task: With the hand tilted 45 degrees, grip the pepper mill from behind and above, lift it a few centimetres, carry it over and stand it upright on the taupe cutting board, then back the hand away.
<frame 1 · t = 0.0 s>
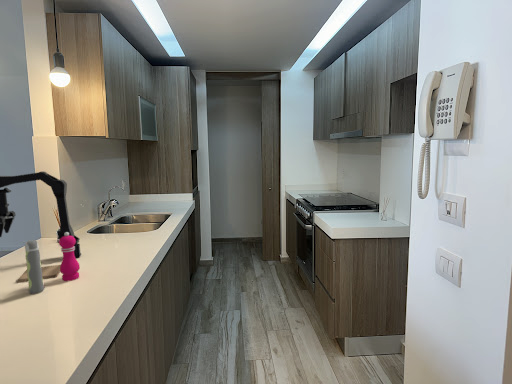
hand: (3, 235, 155), 15 cm above the table, tool pointing down, fingers open, 9 cm apart
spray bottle: (36, 292, 125), on the table
taupe cutting board: (41, 274, 143), on the table
pepper mill: (70, 278, 138), on the table
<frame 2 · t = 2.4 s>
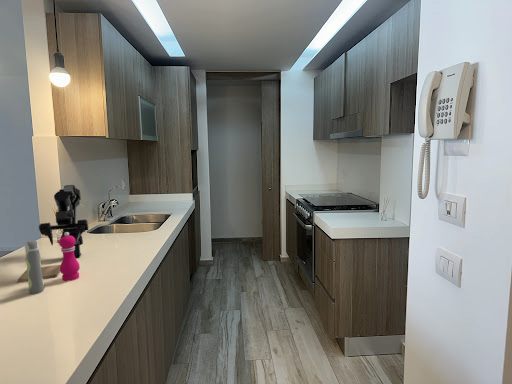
hand: (64, 243, 142), 13 cm above the table, tool tilted 45°, fingers open, 9 cm apart
nothing on the table moved.
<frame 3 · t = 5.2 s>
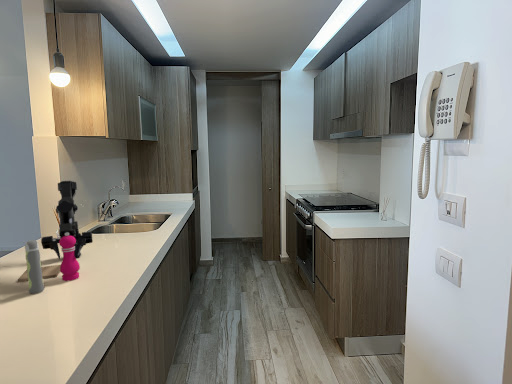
hand: (68, 257, 135), 10 cm above the table, tool tilted 45°, fingers open, 6 cm apart
pepper mill: (70, 278, 138), on the table, touching gripper
everything else where it was.
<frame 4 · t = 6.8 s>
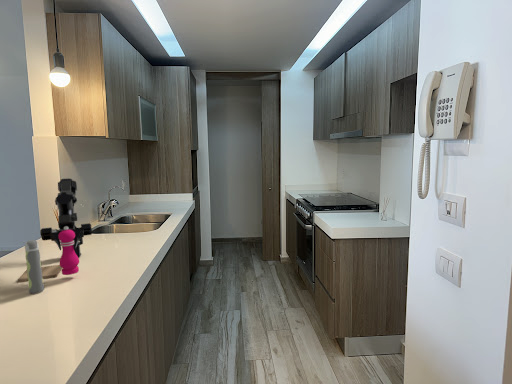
hand: (67, 248, 135), 13 cm above the table, tool tilted 45°, fingers closed on pepper mill, 5 cm apart
pepper mill: (70, 272, 138), point 2 cm above the table, touching gripper
everything else where it was.
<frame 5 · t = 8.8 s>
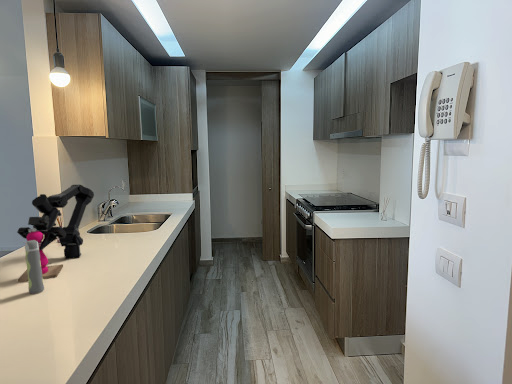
hand: (34, 249, 138), 12 cm above the table, tool tilted 45°, fingers closed on pepper mill, 5 cm apart
pepper mill: (39, 273, 142), point 1 cm above the table, touching gripper, taupe cutting board
everything else where it was.
when the fingers open (12 cm above the table, at t = 8.9 s): pepper mill stays where it is, resting on taupe cutting board.
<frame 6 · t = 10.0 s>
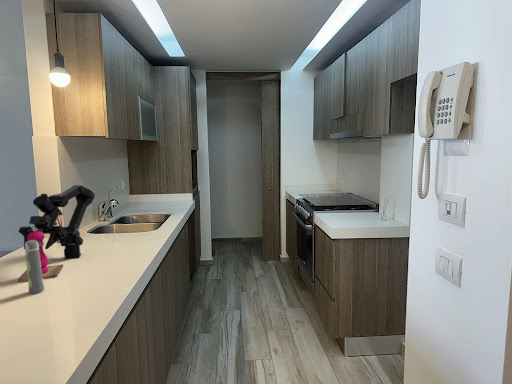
hand: (35, 249, 139), 12 cm above the table, tool tilted 45°, fingers open, 9 cm apart
pepper mill: (39, 273, 142), point 1 cm above the table, touching taupe cutting board
everything else where it was.
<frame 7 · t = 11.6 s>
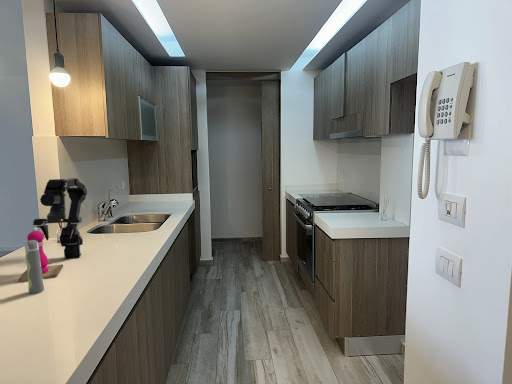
hand: (58, 239, 151), 13 cm above the table, tool pointing down, fingers open, 9 cm apart
nothing on the table moved.
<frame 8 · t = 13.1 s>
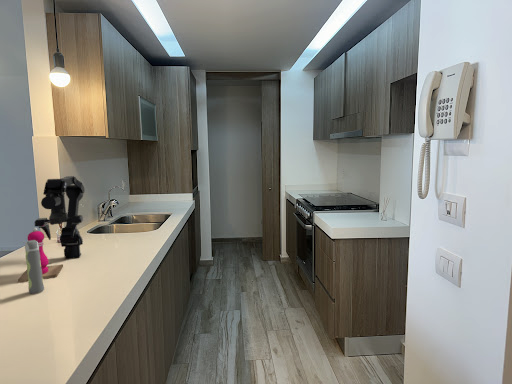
hand: (61, 238, 153), 13 cm above the table, tool pointing down, fingers open, 9 cm apart
nothing on the table moved.
at the end: pepper mill inside the target area on the taupe cutting board (1.6 cm from its centre), point 1.0 cm above the taupe cutting board's base; pepper mill tilted 0°; the gripper is holding nothing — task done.
